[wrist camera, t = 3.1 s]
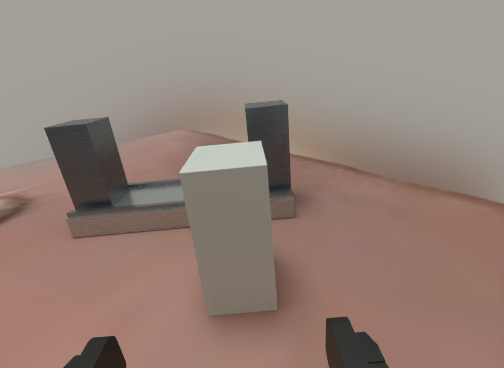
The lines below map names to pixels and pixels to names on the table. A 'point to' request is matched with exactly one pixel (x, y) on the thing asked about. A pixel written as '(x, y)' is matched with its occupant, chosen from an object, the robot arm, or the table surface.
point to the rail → (154, 192)
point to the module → (231, 226)
